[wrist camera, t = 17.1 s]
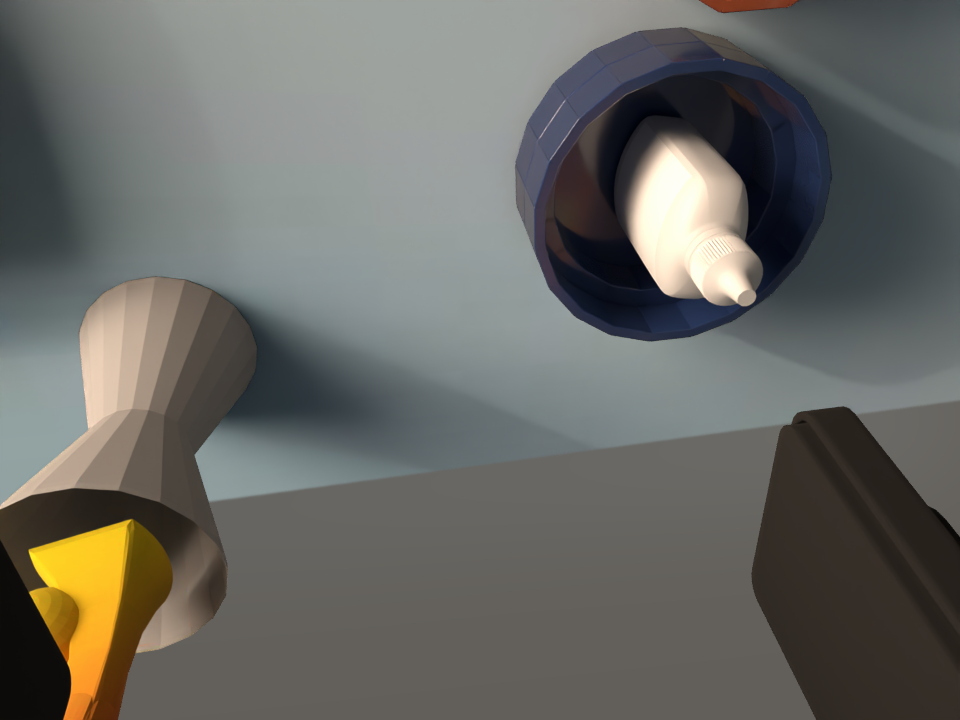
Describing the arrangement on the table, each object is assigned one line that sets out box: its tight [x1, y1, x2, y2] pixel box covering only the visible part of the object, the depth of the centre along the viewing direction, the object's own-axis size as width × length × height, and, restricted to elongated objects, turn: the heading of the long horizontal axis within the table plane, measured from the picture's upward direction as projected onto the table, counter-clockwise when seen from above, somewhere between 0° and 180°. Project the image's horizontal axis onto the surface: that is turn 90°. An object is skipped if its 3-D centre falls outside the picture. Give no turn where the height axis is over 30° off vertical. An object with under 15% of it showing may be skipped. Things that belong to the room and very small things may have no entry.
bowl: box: [515, 27, 832, 341], centre depth 39 cm, size 13×13×6 cm
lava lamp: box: [0, 277, 257, 720], centre depth 29 cm, size 9×9×35 cm
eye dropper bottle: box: [614, 115, 763, 306], centre depth 36 cm, size 4×6×12 cm
